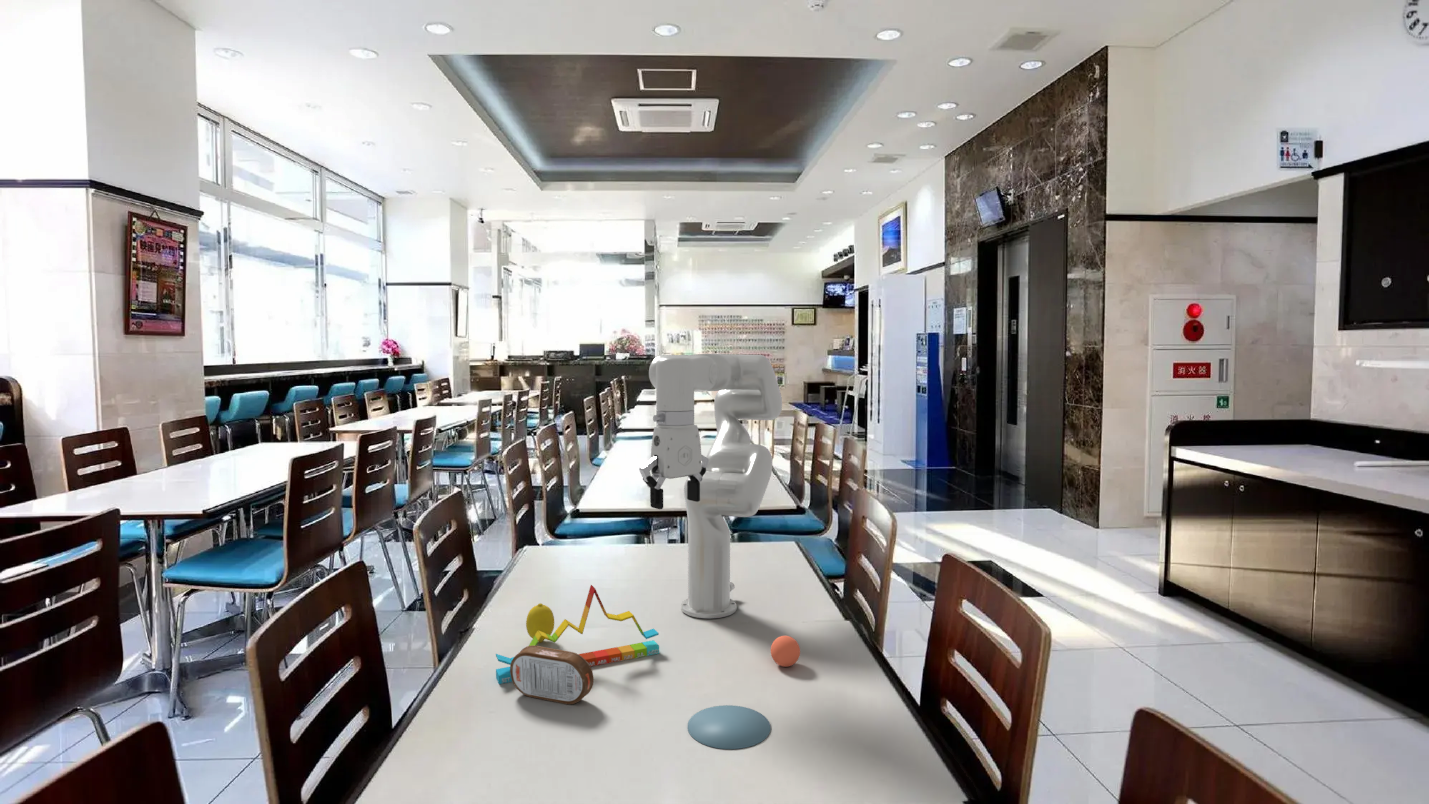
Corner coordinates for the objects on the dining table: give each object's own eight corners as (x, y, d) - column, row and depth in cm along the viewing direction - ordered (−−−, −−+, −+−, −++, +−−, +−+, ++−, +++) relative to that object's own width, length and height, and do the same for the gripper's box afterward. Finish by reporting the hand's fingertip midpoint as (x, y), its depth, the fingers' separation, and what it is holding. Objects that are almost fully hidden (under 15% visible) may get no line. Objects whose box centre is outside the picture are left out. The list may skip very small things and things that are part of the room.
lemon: (547, 648, 144) (547, 609, 143) (521, 646, 145) (521, 607, 145) (559, 638, 149) (558, 599, 149) (533, 635, 150) (533, 597, 150)
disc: (710, 699, 123) (710, 698, 123) (782, 717, 118) (782, 716, 117) (672, 736, 112) (672, 735, 112) (750, 757, 106) (750, 756, 106)
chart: (499, 686, 129) (497, 603, 128) (496, 679, 131) (494, 597, 130) (659, 655, 142) (659, 580, 141) (653, 649, 145) (653, 575, 144)
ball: (776, 656, 141) (777, 629, 140) (803, 662, 138) (804, 634, 138) (766, 668, 136) (766, 639, 135) (794, 673, 133) (794, 644, 133)
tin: (594, 701, 123) (594, 652, 122) (585, 710, 120) (585, 660, 119) (518, 687, 128) (517, 640, 127) (507, 695, 125) (506, 647, 124)
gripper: (653, 424, 136) (653, 514, 137) (719, 417, 148) (719, 500, 149) (628, 420, 141) (629, 508, 143) (694, 414, 153) (694, 495, 155)
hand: (675, 504), depth 146 cm, fingers open, 9 cm apart
